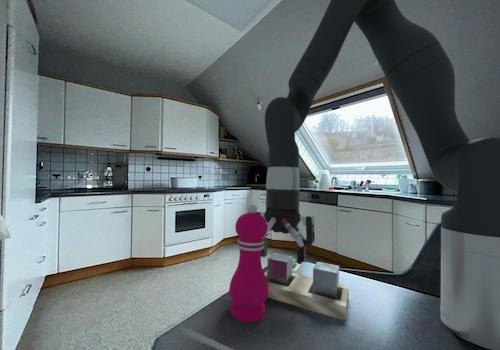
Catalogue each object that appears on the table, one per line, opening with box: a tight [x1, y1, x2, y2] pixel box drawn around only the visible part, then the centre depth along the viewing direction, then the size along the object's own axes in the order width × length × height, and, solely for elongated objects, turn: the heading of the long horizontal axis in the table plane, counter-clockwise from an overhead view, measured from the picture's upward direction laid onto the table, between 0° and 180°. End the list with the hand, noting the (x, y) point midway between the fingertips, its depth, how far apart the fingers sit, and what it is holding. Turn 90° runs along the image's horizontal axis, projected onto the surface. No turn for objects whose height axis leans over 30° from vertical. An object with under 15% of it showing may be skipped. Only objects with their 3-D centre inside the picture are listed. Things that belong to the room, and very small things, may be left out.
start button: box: [292, 258, 297, 269], centre depth 56 cm, size 3×3×2 cm
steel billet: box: [266, 252, 294, 287], centre depth 48 cm, size 4×4×7 cm
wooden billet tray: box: [264, 270, 350, 322], centre depth 46 cm, size 18×9×3 cm, turn 63°
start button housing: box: [292, 262, 302, 275], centre depth 56 cm, size 5×5×3 cm
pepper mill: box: [228, 204, 269, 323], centre depth 40 cm, size 7×7×20 cm
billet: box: [312, 261, 340, 300], centre depth 44 cm, size 4×4×7 cm
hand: (281, 259), depth 48 cm, fingers open, 8 cm apart
